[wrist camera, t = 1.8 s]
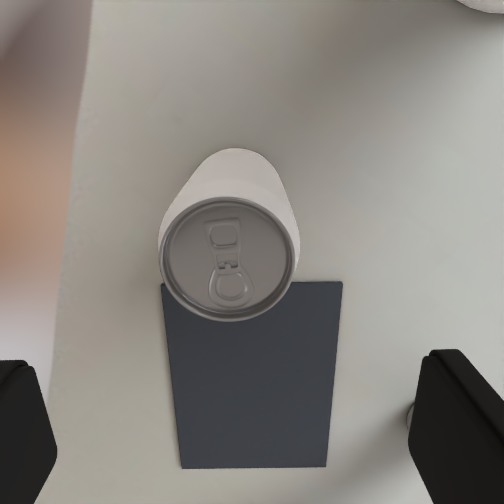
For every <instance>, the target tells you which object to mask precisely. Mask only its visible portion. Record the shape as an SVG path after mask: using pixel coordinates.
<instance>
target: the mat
mask: <svg viewBox="0 0 504 504" xmlns="http://www.w3.org/2000/svg"><path fill="white" fill-rule="evenodd" d="M342 288H343V283H342V282H291V284H290V286H289V288H288V290H287V291H286V293H285V294H284V296H283V297H282V298H281V299H280V300H279V301H278V302H277V303H276V304H275V305H274V306H273V307H272V308H270V309H269V310H267V311H266V312H264V313H262V314H260V315H258V316H256V317H253V318H250V319H246V320H242V321H233V322H224V321H216V320H211V319H207V318H204V317H202V316H199V315H197V314H195V313H193V312H191V311H190V310H188V309H187V308H185V307H184V306H183V305H181V304H180V303H179V302H178V301H177V300H176V299H175V298H174V297H173V295H172V294H171V293H170V291H169V290H168V288H167V286H166V285H165V284H162V285H161V291H162V300H163V309H164V317H165V326H166V335H167V343H168V352H169V361H170V369H171V378H172V387H173V395H174V404H175V413H176V421H177V430H178V439H179V447H180V456H181V465H182V469H214V468H299V467H326V461H327V450H328V439H329V428H330V418H331V407H332V396H333V385H334V374H335V363H336V353H337V342H338V331H339V320H340V309H341V298H342Z"/></svg>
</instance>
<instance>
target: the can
mask: <svg viewBox="0 0 504 504" xmlns="http://www.w3.org/2000/svg"><path fill="white" fill-rule="evenodd" d="M158 252H159V265H160V271H161V274H162V278H163V280H164V282H165V285H166V286H167V288H168V290H169V291H170V293H171V294H172V295H173V297H174V298H175V299H176V300H177V301H178V302H179V303H180V304H181V305H183V306H184V307H185V308H187V309H188V310H190V311H191V312H193V313H195V314H197V315H199V316H202V317H204V318H207V319H211V320H216V321H224V322H233V321H242V320H246V319H250V318H253V317H256V316H258V315H260V314H262V313H264V312H266V311H267V310H269V309H270V308H272V307H273V306H274V305H275V304H276V303H277V302H278V301H279V300H280V299H281V298H282V297H283V296H284V294H285V293H286V291H287V290H288V288H289V286H290V284H291V281H292V279H293V275H294V272H295V270H296V267H297V264H298V260H299V255H300V236H299V231H298V227H297V223H296V220H295V217H294V214H293V211H292V209H291V206H290V203H289V200H288V198H287V195H286V192H285V190H284V187H283V185H282V182H281V180H280V177H279V175H278V173H277V171H276V170H275V168H274V167H273V166H272V165H271V163H270V162H269V161H268V160H266V159H265V158H264V157H263V156H261V155H259V154H258V153H256V152H253V151H250V150H247V149H242V148H230V149H225V150H221V151H218V152H216V153H214V154H212V155H211V156H209V157H208V158H206V159H205V160H204V161H203V162H202V163H201V164H200V165H199V167H198V168H197V169H196V170H195V172H194V173H193V174H192V176H191V177H190V178H189V180H188V181H187V182H186V184H185V185H184V187H183V188H182V189H181V191H180V192H179V193H178V195H177V196H176V198H175V199H174V201H173V202H172V203H171V205H170V207H169V208H168V210H167V212H166V213H165V216H164V218H163V220H162V223H161V226H160V230H159V236H158Z"/></svg>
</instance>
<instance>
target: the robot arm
mask: <svg viewBox="0 0 504 504" xmlns="http://www.w3.org/2000/svg"><path fill="white" fill-rule="evenodd" d="M457 1H459V2H461V3H462V4H464V5H466V6H468V7H469V8H473V9H476V10H480V11H483V12H487V13H502V14H504V0H457ZM408 446H409V451H410V454H411V456H412V459H413V461H414V463H415V465H416V467H417V469H418V471H419V474H420V476H421V478H422V480H423V482H424V484H425V486H426V488H427V491H428V493H429V495H430V497H431V499H432V501H433V503H434V504H504V401H503V400H502V398H501V397H500V396H499V395H498V394H497V393H496V391H495V390H494V389H493V388H492V387H491V386H490V384H489V383H488V382H487V381H486V380H485V379H484V378H483V376H482V375H481V374H480V373H479V372H478V371H477V369H476V368H475V367H474V366H473V365H472V364H471V362H470V361H469V360H468V359H467V358H466V357H465V356H464V354H463V353H462V352H461V351H459V350H457V349H442V350H432V351H431V352H430V353H429V356H425V357H424V358H423V360H422V365H421V370H420V375H419V381H418V386H417V392H416V397H415V403H414V408H413V414H412V419H411V425H410V430H409V436H408ZM56 458H57V445H56V442H55V438H54V435H53V431H52V428H51V424H50V421H49V417H48V414H47V410H46V407H45V404H44V400H43V397H42V393H41V390H40V386H39V383H38V379H37V376H36V372H35V370H34V368H33V367H32V366H28V364H27V362H26V361H24V360H0V504H34V502H35V500H36V499H37V497H38V495H39V493H40V491H41V489H42V487H43V485H44V483H45V482H46V480H47V478H48V476H49V474H50V472H51V470H52V468H53V466H54V464H55V462H56Z"/></svg>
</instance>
